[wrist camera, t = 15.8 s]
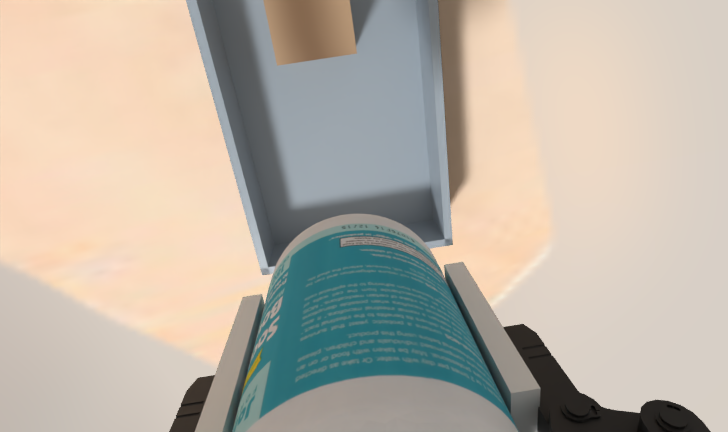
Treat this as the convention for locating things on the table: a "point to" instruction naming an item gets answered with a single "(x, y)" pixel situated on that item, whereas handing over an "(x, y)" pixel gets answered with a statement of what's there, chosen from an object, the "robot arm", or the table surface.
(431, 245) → the tote
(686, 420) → the robot arm
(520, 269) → the table surface
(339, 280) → the pill bottle
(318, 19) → the walnut cube
